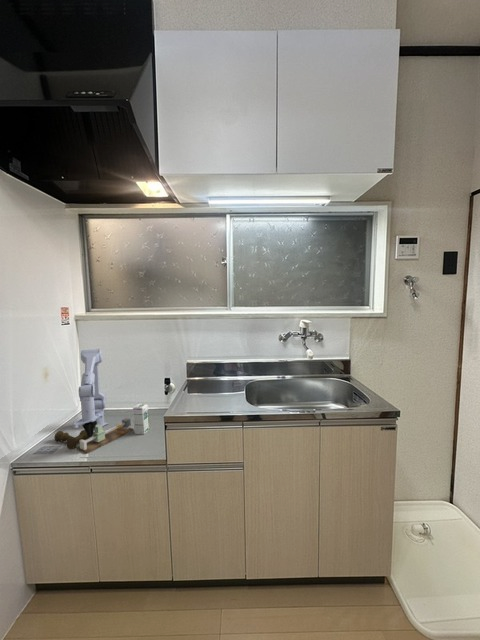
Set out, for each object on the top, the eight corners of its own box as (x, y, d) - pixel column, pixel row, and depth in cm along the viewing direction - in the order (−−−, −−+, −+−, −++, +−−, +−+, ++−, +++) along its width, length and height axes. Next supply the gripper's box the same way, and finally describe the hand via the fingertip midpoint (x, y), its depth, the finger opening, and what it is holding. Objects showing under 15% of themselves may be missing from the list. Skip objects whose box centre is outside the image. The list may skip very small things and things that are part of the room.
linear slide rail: (84, 450, 147) (83, 440, 147) (80, 448, 149) (79, 438, 149) (131, 427, 170) (130, 419, 170) (126, 426, 172) (126, 417, 172)
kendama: (67, 436, 164) (96, 442, 157) (50, 446, 156) (79, 452, 148) (65, 426, 164) (94, 431, 156) (48, 434, 155) (78, 440, 147)
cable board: (86, 453, 146) (86, 451, 146) (76, 449, 150) (76, 447, 150) (133, 430, 169) (133, 428, 169) (123, 427, 173) (123, 425, 173)
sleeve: (98, 442, 153) (97, 428, 152) (93, 440, 155) (92, 426, 154) (105, 438, 157) (104, 425, 156) (100, 437, 159) (99, 423, 158)
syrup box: (144, 434, 164) (143, 407, 163) (134, 433, 165) (132, 407, 164) (149, 429, 170) (148, 403, 168) (139, 428, 171) (138, 403, 169)
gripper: (78, 416, 142) (80, 445, 143) (106, 405, 154) (108, 432, 156) (69, 413, 145) (71, 441, 147) (97, 403, 158) (99, 429, 159)
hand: (90, 436), depth 152 cm, fingers closed
